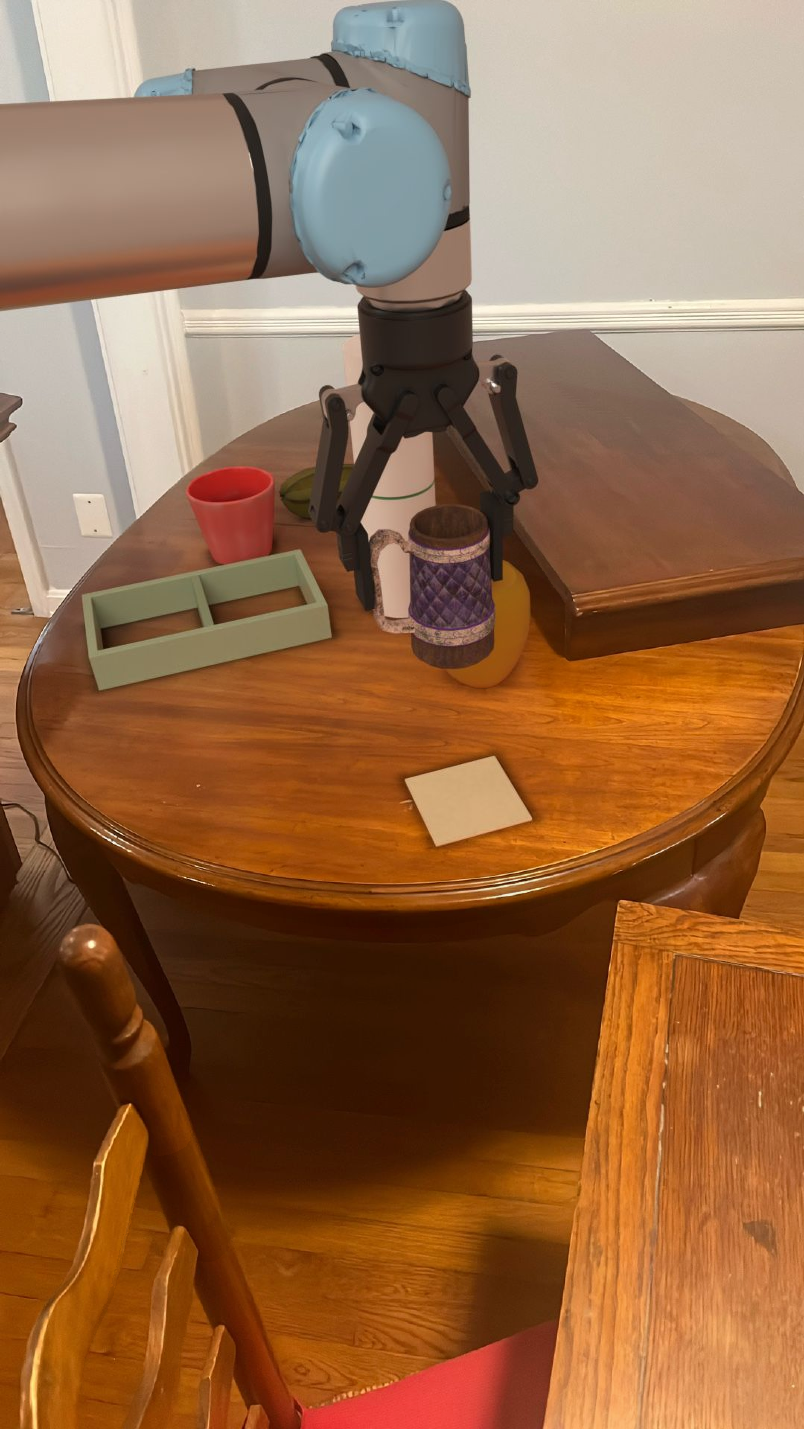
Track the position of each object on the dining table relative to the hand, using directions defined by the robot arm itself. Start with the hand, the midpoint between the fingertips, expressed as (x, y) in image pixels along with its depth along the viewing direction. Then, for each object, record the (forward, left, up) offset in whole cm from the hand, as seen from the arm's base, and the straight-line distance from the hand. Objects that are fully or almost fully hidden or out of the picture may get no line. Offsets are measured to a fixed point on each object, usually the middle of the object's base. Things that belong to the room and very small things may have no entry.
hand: (429, 587), depth 79 cm
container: (+7, +32, -22) cm, 40 cm away
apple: (+10, +15, -22) cm, 29 cm away
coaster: (+2, -3, -22) cm, 22 cm away
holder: (-16, +34, -22) cm, 44 cm away
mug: (0, 0, -6) cm, 6 cm away
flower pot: (-9, +51, -22) cm, 57 cm away
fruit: (+5, +57, -22) cm, 62 cm away
